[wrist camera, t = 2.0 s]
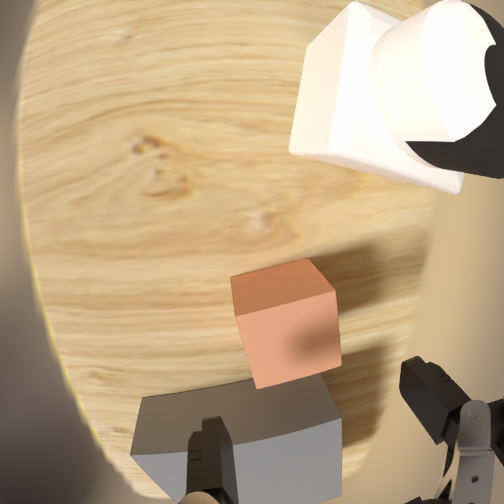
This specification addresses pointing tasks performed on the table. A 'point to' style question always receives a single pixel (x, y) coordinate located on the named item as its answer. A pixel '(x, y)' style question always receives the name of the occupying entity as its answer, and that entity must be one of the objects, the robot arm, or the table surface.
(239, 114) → the table surface
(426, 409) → the robot arm
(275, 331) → the terracotta cube
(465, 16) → the medicine bottle
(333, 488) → the slate pedestal
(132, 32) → the table surface
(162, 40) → the table surface
